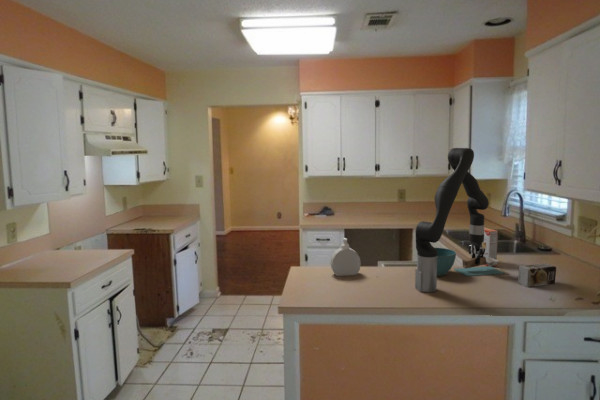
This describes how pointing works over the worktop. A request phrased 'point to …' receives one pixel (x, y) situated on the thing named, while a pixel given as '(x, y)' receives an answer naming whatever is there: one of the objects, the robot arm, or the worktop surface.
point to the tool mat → (478, 271)
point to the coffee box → (537, 275)
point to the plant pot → (444, 260)
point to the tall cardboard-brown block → (471, 262)
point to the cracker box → (490, 244)
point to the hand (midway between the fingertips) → (475, 263)
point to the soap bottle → (345, 261)
